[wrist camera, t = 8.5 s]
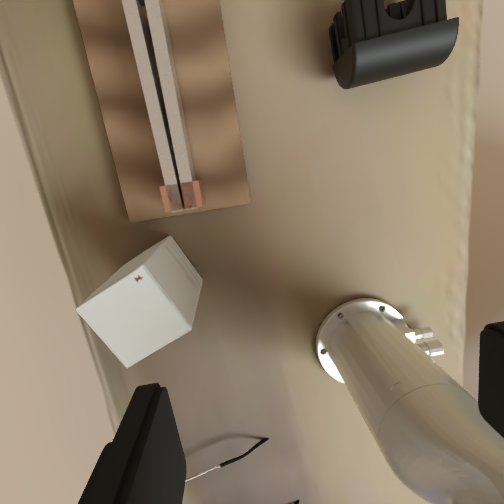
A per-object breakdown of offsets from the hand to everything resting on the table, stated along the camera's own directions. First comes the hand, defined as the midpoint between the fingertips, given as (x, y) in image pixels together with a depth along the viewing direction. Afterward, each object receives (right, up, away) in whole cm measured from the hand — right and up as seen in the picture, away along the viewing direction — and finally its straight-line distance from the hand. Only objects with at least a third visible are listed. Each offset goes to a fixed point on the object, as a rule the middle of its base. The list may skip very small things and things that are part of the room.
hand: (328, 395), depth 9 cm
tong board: (-11, +20, +25) cm, 35 cm away
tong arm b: (-12, +18, +24) cm, 32 cm away
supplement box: (-13, +2, +30) cm, 33 cm away
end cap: (+11, +26, +26) cm, 38 cm away
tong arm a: (-10, +19, +24) cm, 32 cm away
